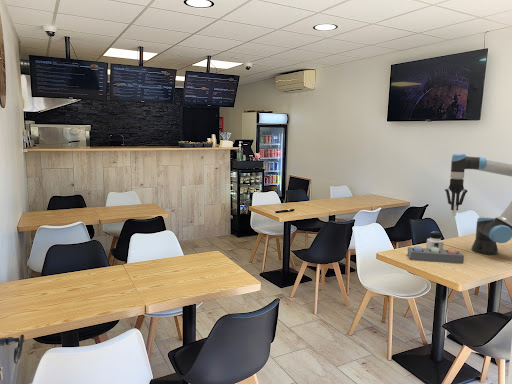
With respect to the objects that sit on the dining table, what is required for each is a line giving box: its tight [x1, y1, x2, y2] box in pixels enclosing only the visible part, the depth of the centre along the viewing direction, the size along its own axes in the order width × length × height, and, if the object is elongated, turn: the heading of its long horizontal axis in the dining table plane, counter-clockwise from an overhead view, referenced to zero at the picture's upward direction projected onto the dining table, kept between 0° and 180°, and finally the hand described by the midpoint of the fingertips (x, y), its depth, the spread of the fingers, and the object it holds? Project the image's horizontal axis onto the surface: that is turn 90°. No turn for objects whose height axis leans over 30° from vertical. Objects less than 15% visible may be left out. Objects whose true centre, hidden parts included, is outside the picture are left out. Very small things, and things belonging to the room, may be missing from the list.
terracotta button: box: [447, 247, 458, 254], centre depth 234 cm, size 5×5×5 cm
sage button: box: [431, 247, 439, 253], centre depth 236 cm, size 5×5×5 cm
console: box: [407, 246, 465, 265], centre depth 237 cm, size 30×11×5 cm, turn 77°
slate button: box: [413, 245, 423, 252], centre depth 239 cm, size 5×5×5 cm
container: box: [425, 231, 444, 250], centre depth 253 cm, size 8×8×13 cm
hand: (454, 215), depth 241 cm, fingers closed
